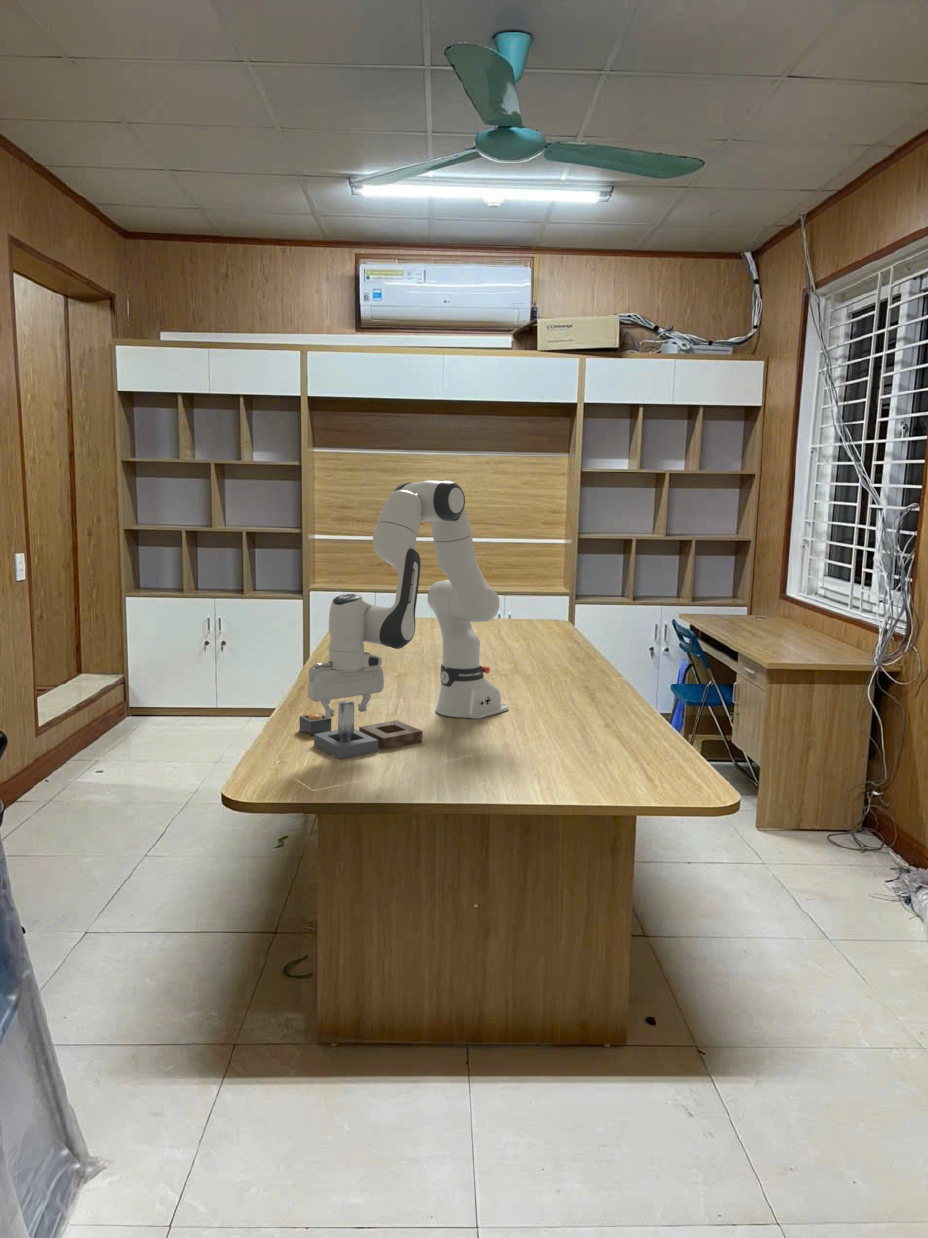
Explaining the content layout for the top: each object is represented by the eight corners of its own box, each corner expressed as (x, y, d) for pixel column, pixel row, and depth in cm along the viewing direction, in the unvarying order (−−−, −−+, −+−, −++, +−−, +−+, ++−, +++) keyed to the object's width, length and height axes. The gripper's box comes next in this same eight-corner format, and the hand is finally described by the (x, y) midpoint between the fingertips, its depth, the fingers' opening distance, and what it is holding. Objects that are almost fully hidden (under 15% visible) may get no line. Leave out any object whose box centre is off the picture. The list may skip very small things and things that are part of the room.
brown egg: (318, 725, 230) (318, 712, 230) (324, 728, 227) (324, 716, 227) (306, 727, 228) (306, 714, 227) (312, 730, 225) (312, 717, 225)
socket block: (396, 730, 231) (397, 720, 231) (422, 741, 222) (422, 730, 221) (359, 737, 224) (359, 726, 223) (383, 749, 214) (383, 738, 214)
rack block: (351, 738, 223) (351, 727, 222) (377, 751, 213) (378, 740, 212) (314, 745, 216) (314, 734, 216) (339, 759, 206) (339, 747, 206)
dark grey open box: (320, 727, 232) (320, 712, 232) (331, 732, 227) (331, 718, 227) (299, 730, 228) (299, 716, 228) (310, 736, 224) (310, 721, 223)
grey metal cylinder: (348, 745, 217) (349, 699, 215) (356, 749, 214) (357, 703, 212) (335, 747, 215) (335, 701, 213) (343, 751, 212) (343, 705, 210)
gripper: (315, 666, 202) (315, 722, 204) (387, 658, 215) (386, 710, 217) (302, 662, 207) (302, 716, 209) (374, 653, 219) (373, 705, 222)
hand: (346, 713), depth 213 cm, fingers open, 8 cm apart
